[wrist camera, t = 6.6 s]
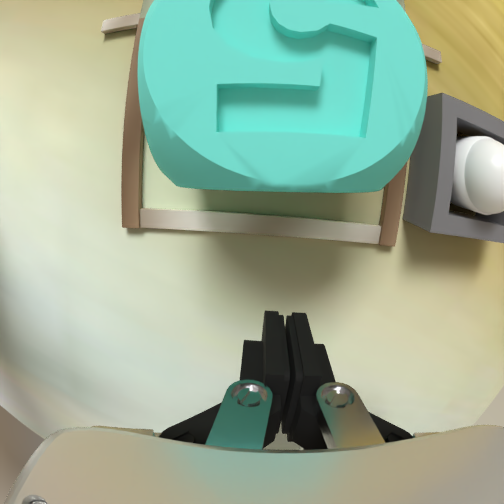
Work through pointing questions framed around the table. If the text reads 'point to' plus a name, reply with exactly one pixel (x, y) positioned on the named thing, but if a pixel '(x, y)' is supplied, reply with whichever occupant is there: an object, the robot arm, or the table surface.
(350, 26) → the decorative dice
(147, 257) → the table surface
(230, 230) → the lane
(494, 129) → the collar
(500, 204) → the white ball
